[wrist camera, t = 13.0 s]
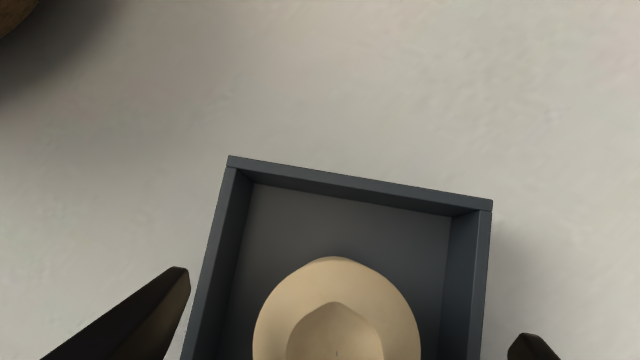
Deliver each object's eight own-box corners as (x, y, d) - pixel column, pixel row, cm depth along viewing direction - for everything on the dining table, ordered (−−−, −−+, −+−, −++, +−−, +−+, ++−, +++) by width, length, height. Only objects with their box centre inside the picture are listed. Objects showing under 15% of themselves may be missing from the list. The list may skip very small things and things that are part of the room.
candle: (401, 296, 20) (472, 343, 10) (342, 379, 19) (356, 520, 9) (324, 236, 20) (320, 224, 11) (265, 314, 20) (201, 377, 10)
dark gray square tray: (434, 452, 19) (467, 515, 14) (197, 400, 19) (158, 445, 15) (459, 210, 21) (493, 199, 17) (248, 173, 22) (228, 154, 17)
